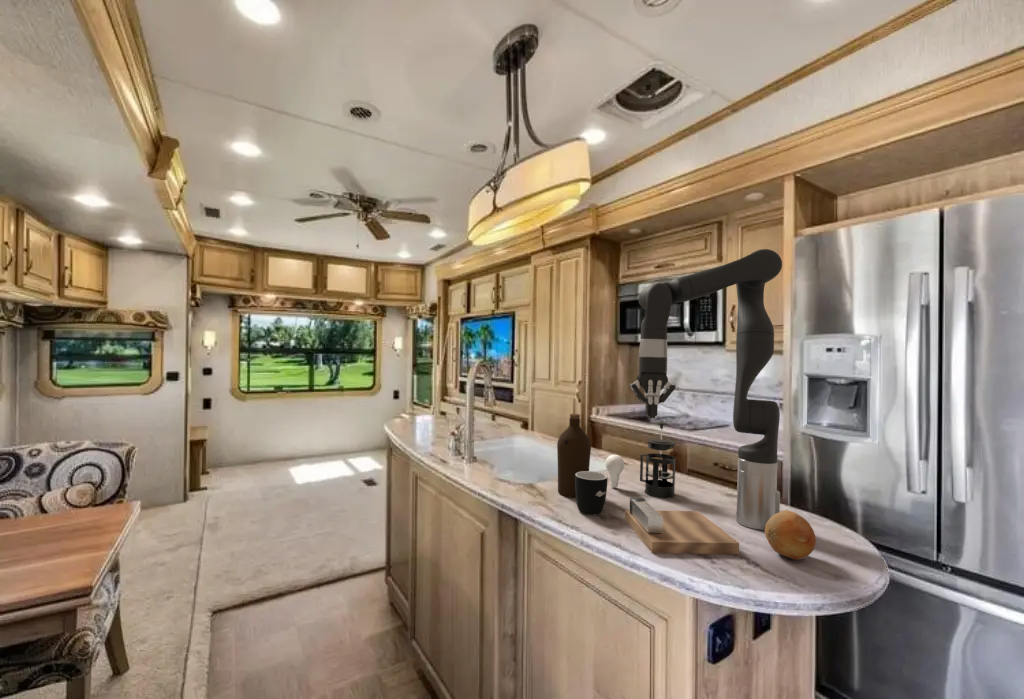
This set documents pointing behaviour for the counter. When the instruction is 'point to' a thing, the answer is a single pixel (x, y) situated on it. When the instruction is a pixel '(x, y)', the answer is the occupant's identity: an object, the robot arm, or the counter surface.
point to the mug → (590, 492)
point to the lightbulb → (614, 469)
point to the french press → (658, 486)
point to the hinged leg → (646, 515)
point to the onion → (790, 535)
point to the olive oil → (572, 455)
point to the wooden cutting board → (685, 534)
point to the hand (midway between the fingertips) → (651, 417)
